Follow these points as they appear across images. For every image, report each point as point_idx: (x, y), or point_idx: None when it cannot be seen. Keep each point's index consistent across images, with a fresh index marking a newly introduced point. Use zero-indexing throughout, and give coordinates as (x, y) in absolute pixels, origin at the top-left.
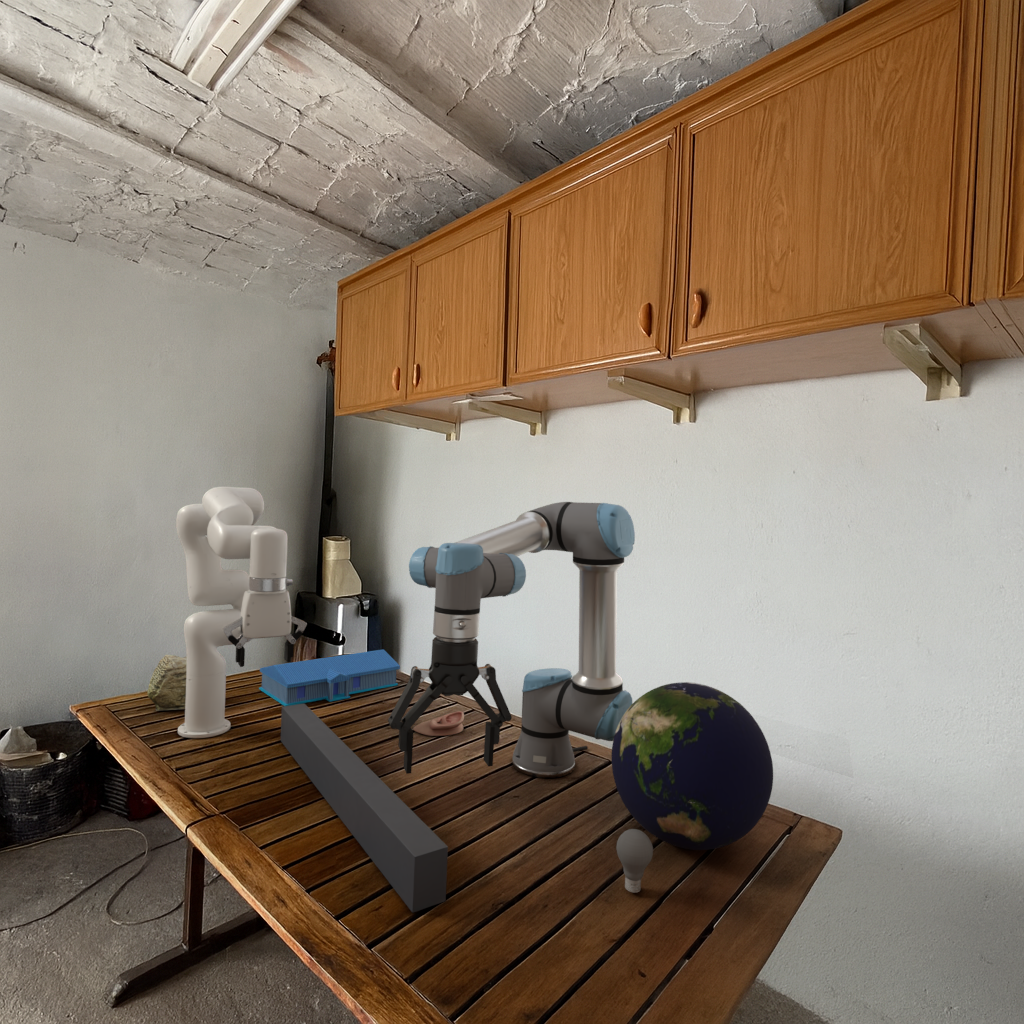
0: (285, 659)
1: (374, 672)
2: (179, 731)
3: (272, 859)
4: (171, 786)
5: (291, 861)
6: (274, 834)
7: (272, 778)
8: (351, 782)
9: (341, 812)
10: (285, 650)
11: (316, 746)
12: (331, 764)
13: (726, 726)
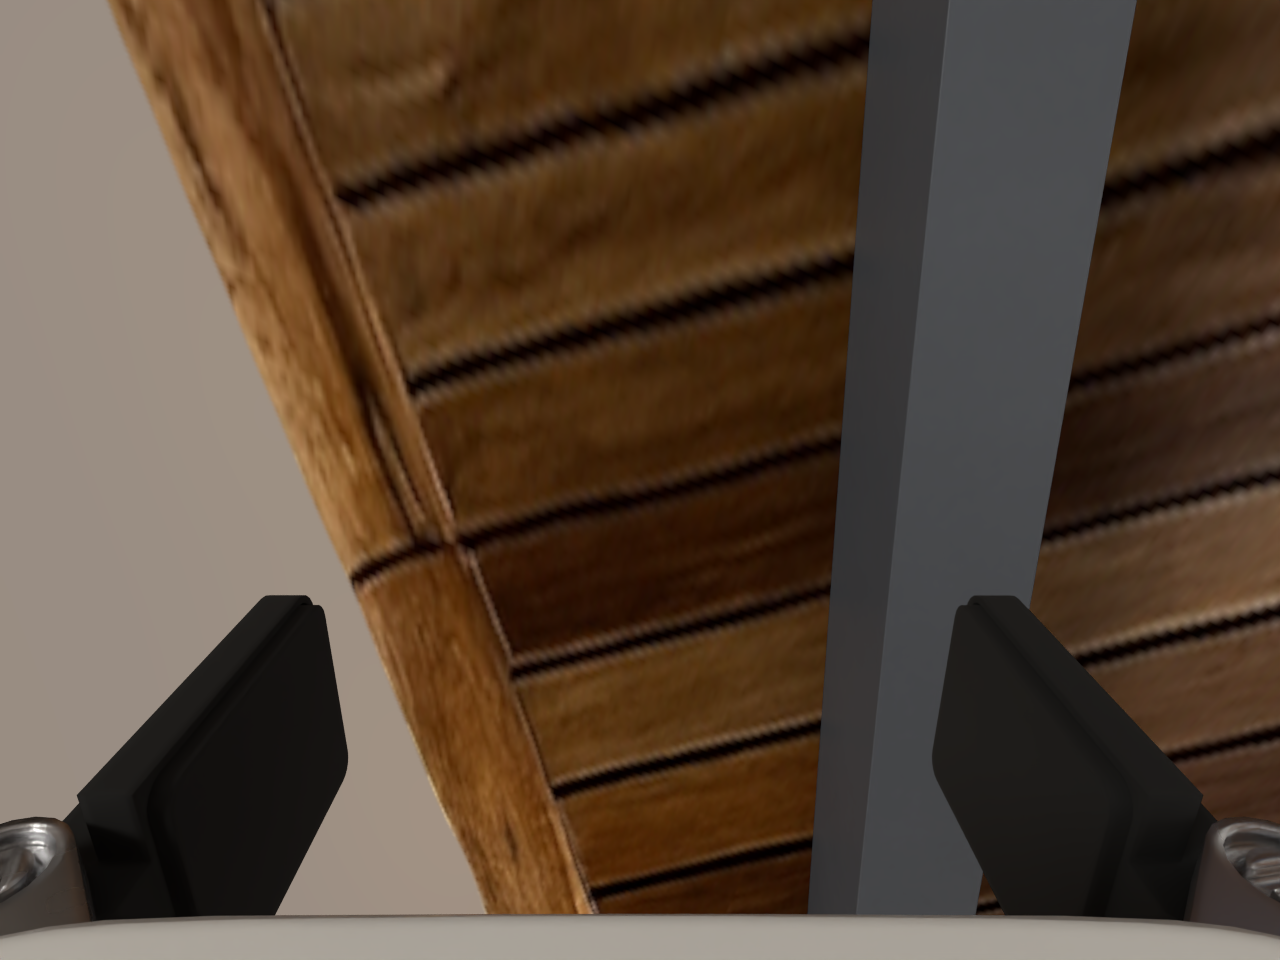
0: (950, 679)
1: None
2: None
3: (573, 852)
4: (264, 197)
5: (617, 878)
6: (605, 744)
7: (699, 325)
8: None
9: (824, 773)
10: (1016, 757)
11: (891, 560)
12: (869, 759)
13: None
